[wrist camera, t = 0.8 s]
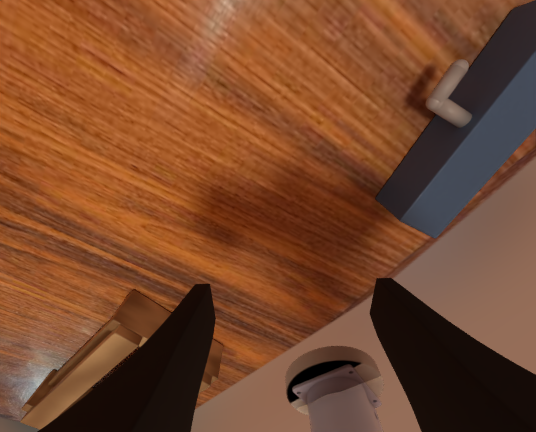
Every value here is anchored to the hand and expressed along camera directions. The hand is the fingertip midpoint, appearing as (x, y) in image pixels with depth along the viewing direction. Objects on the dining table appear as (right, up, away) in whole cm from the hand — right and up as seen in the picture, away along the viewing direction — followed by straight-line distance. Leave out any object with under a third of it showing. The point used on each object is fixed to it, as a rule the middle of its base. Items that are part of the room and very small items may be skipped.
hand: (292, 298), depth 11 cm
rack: (-15, -11, +14) cm, 23 cm away
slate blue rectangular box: (+9, +10, +5) cm, 14 cm away
